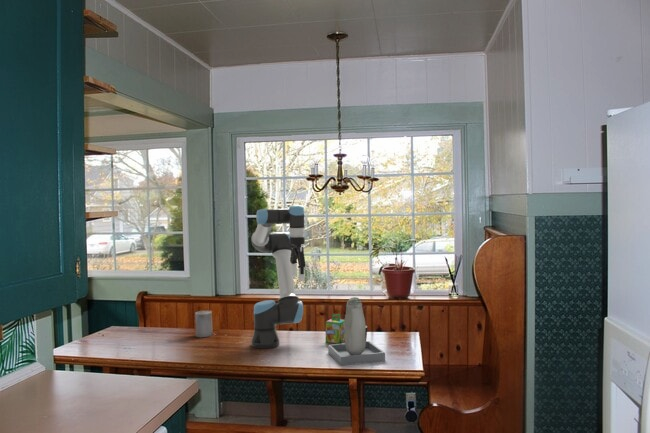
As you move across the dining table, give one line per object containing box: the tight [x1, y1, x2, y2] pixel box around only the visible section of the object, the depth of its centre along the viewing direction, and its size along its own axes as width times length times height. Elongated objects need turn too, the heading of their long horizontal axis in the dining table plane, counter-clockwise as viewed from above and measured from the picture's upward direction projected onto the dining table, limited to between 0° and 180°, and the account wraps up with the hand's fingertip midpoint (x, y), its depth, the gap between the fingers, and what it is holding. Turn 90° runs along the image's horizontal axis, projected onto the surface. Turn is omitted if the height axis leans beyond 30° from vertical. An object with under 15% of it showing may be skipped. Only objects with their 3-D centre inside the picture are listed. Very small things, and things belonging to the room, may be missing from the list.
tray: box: [327, 340, 386, 366], centre depth 259 cm, size 22×22×4 cm
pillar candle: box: [194, 309, 214, 338], centre depth 308 cm, size 10×10×15 cm
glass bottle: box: [344, 297, 367, 355], centre depth 259 cm, size 10×10×28 cm
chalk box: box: [325, 313, 345, 344], centre depth 289 cm, size 9×9×15 cm
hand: (297, 278), depth 264 cm, fingers open, 13 cm apart
